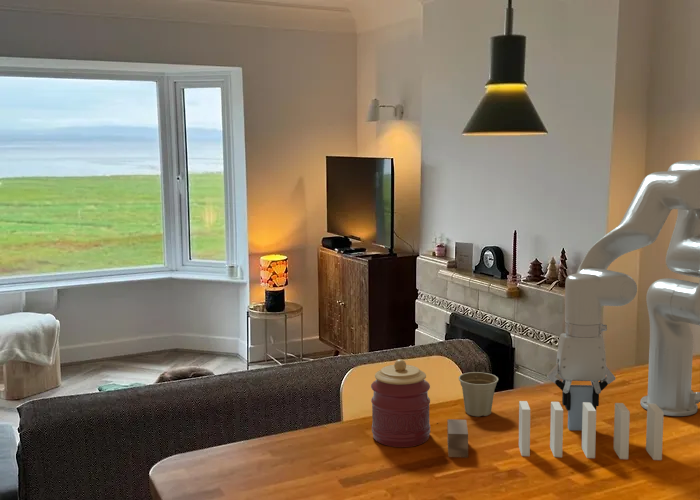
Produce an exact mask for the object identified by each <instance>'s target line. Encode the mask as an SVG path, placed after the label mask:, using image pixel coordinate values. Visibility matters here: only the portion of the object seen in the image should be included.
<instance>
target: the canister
mask: <svg viewBox="0 0 700 500" xmlns="http://www.w3.org/2000/svg"><path fill="white" fill-rule="evenodd" d="M374 378H375V380H374V381H373V382H371V385H370V388H371V390H372V391H373V396H372V397H371V400H370V401H371V405H372V407H371V409H372V410H371V413H372V417H371V418H372V421H371V422H372V425H371V433H372V437H373V439H374V440H375V441H376V442H377V443H379V444H382V445H384V446H387V447H393V448H410V447H415V446H419V445H422V444H425V442H427V441H428V440H429V438H430V433H431V424H430V404H431V399H430V397H429V395H428V394H429V393H428V392H429V390H430V389H431V385H430V382H428V381H427V380H426V378H427V373H425V372H424V371H423V370H421V369H420V368H419V367H417V366H415V365H410V364H407V363H406V361H405V360H404V359H401V358H400V359H399V358H398V359H396V360H395V362H394V364H389V365H386V366H384V367H382V368H381V369H380V370H378V371H376V372H375V374H374Z"/></svg>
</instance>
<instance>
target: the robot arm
mask: <svg viewBox="0 0 700 500" xmlns="http://www.w3.org/2000/svg"><path fill="white" fill-rule="evenodd" d="M673 210H677V217H676V220H675V224H674V228H673V230H672V231H673V232H672V234H671V238H670V240H669V245H668V248H667V251H666V254H665V255H666V256H665V265H666V267H667V269H669V271H670V272H673V273H675V274H678V275H681V276H687V277H694V278H699V279H700V159H686V160H679V161H676V162H674V163H672V164H671V165H670V166H669V167H668V169H667V171H666V170H665V171H655V172H654V171H653V172H652V173H649V174H648V175H646V176H645V177H644V178H643V179H642V181H641V182H640V185H639V186H638V188H637V190H636V192H635V194H634V196H633V198H632V199H631V202H630V204H629V205H628V207H627V209H626V211H625V213H624V215H623V217H622V218H621V221H620V223H619V224H618V225H617V226H616V227H614V228H613V229H612V230H611V231H609V232H608V233H607V232H606V234H604V235H603V236H602V237H601V238H600V239H599V240H598V241H596V242H595V243H594V244H593V245H592V246H591V247H590V248H588V250H587V252H586V254H585V255H584V257H583V258H582V261H581V263H580V264H579V266H578V268H577V270H576V272H575V273H572V274H569V275H568V276H567V277H566V278H565V281H564V283H565V285H564V286H565V287H564V324H563V325H564V331H563V332H562V333H560V335H559V339H558V344H557V352H556V353H557V354H556V364H554V366H553V368H551V369H550V371H549V372H547V375H546V377H547V380H550V381H551V382H552V383H553V384H555V385H556V386H557V387H558V388H559V389H560V390H561V392H562V395H561V398H562V400H561V401H562V402H561V403H562V406H564V407H565V409H566V411H567V412H568V411H570V410H571V393H570V392H569V388H570V385H572V382H573V381H575V382H590V383H591V385H592V387H593V395H592V405H593V407H594V408H595V410H596V411H597V407H599V405H600V404H599V403H600V394H601V393H602V391H603V390H604V389H606V387H607V386H608V385H610V384H611V383H613V382H614V381H616V376H615V375H614V374H613V372H612V371H611V370H610V368H609V367H608V366H607V359H606V346H605V341H604V337H603V335H602V332H604V331H607V330H608V325H607V324H603V323H601V308H602V307H603V306H605V307H606V306H609V307H623V306H625V305H628V304H630V303H631V302H632V301H633V300H634V299H635V298H636V296H637V293H638V285H637V283H636V281H635V280H634V278H633V277H632V276H630V275H629V274H626V273H624V272H619V271H613V270H610V269H608V268H609V267H610V265H611V264H612V263H614V262H615V260H617V259H618V258H620V257H621V256H623V255H625V254H628V253H631V252H633V251H636V250H639V249H643V248H644V247H648V246H650V245H652V244H653V243H655V241H656V240H657V239H658V237H659V235H660V233H661V230H662V229H663V227H664V225H665V223H666V220H667V219H668V217H669V215H670V213H671V211H673ZM645 298H646V306H647V312H648V319H649V320H648V321H649V346H648V347H649V348H648V349H649V351H648V354H649V355H648V373H647V374H648V378H647V379H648V380H647V395H644V396H642V398H641V399H640V405H641V407H642V408H643V409H645V410H646V411H647V404H656V405H657V406H658V407H659V408H660V409H661V410H662V411H663V412H664V416H671V417H686V416H687V417H688V416H692V415H694V414H696V413H697V412H698V404H699V403H700V391H695V392H694V391H693V390H692V380H693V379H692V375H693V356H694V354H693V353H694V352H693V351H694V334H693V331H692V328H691V325H695V326H700V280H699V282H695V281H689V280H684V279H677V278H665V277H664V278H660V279H657V280H655V281H654V282H652V283H651V284H650V285H649V287H648V289H647V292H646V295H645ZM557 375H559V377H560V379H559V378H558V377H557ZM561 379H562V380H561Z"/></svg>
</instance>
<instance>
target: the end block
mask: <svg viewBox="0 0 700 500" xmlns="http://www.w3.org/2000/svg"><path fill="white" fill-rule="evenodd" d="M468 430H469V429H468V423H467V419H455V418H454V419H449V418H448V419H447V453H448V455H447V456H448V458H469V432H468Z"/></svg>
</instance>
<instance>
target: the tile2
mask: <svg viewBox="0 0 700 500" xmlns="http://www.w3.org/2000/svg"><path fill="white" fill-rule="evenodd" d="M630 416H631V412H630V410H629V409H628V408H627V406H626V405H625V403H623V402H615V403H614V418H613V419H614V422H613V424H614V425H613V450H614V452H615V453H616V455H617V456H618V458H619V460H629V450H630V449H629V448H630V447H629V446H630V445H629V444H630V421H631V419H630Z"/></svg>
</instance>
